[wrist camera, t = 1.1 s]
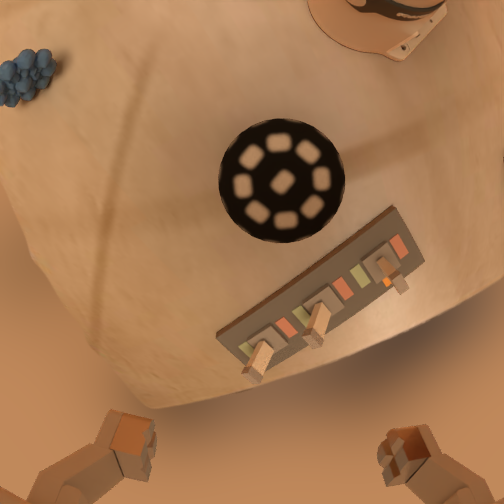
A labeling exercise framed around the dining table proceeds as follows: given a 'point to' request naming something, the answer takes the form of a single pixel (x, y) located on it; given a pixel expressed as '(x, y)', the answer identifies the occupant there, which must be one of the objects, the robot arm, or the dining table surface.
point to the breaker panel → (326, 290)
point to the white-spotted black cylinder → (281, 180)
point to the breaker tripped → (393, 275)
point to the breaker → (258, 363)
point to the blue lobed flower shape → (25, 76)
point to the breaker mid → (317, 326)
